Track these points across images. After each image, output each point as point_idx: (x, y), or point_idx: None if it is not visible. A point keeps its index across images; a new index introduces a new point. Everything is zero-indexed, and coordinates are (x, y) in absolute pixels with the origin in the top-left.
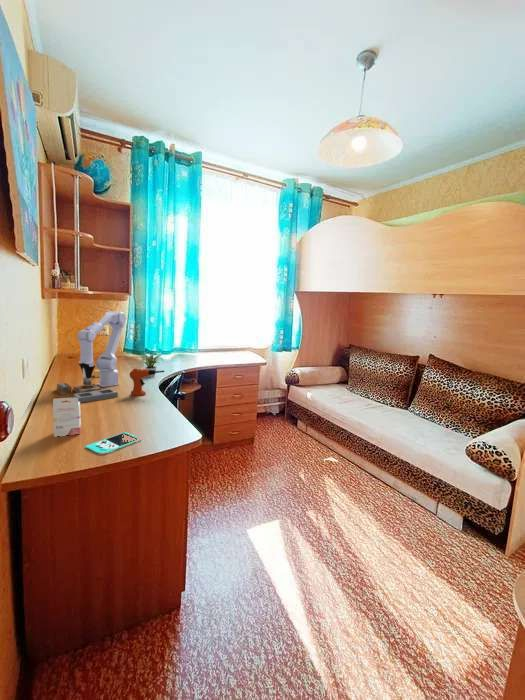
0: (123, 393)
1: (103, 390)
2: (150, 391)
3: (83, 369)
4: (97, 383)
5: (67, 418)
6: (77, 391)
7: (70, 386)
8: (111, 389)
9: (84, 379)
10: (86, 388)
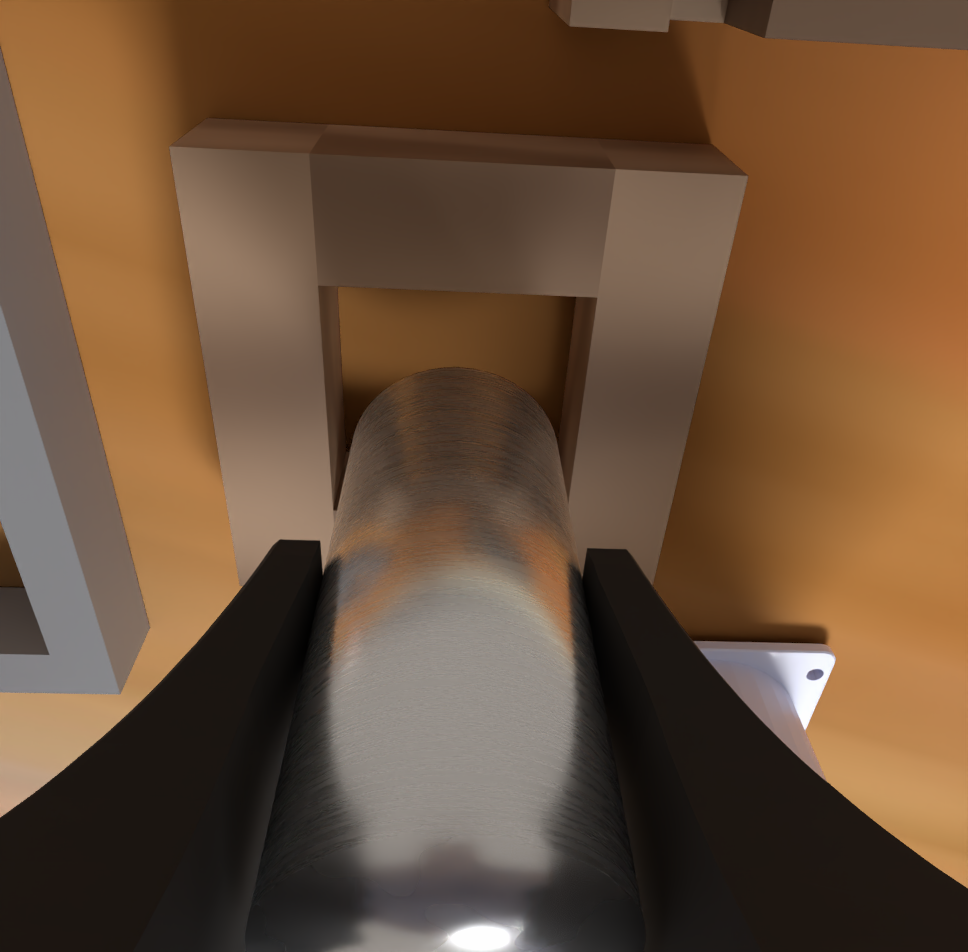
0: (43, 726)
1: (16, 563)
2: None
3: (391, 782)
4: (826, 655)
5: None
6: (415, 142)
7: (621, 21)
8: (39, 676)
9: (381, 473)
10: (570, 401)
